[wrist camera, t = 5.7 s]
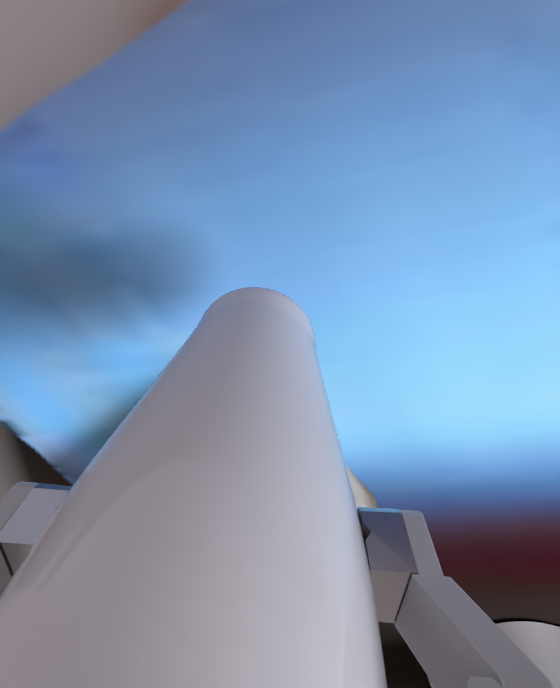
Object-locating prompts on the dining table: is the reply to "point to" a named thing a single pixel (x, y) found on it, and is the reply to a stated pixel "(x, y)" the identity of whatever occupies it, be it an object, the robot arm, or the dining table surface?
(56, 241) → the dining table surface
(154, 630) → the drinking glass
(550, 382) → the dining table surface
